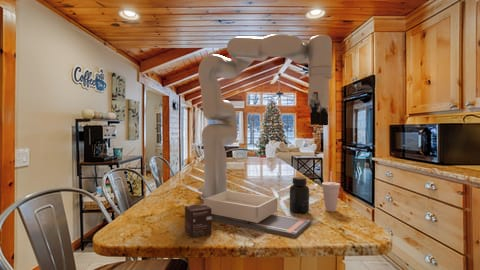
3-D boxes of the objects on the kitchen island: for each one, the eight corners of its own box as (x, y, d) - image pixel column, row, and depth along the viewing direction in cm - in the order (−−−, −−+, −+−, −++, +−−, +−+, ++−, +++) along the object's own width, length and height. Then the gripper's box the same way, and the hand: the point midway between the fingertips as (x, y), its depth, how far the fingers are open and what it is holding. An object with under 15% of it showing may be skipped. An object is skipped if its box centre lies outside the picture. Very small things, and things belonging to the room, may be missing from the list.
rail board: (199, 217, 93) (199, 214, 93) (224, 207, 105) (224, 204, 105) (295, 237, 76) (295, 233, 76) (311, 223, 87) (311, 219, 87)
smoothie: (340, 208, 104) (341, 171, 103) (339, 213, 98) (339, 173, 97) (322, 206, 106) (323, 169, 106) (320, 211, 100) (320, 172, 100)
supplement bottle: (309, 215, 96) (309, 180, 96) (289, 213, 97) (289, 179, 97) (308, 209, 103) (308, 176, 102) (289, 208, 104) (289, 176, 104)
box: (190, 238, 75) (190, 211, 75) (184, 231, 80) (184, 205, 80) (212, 234, 78) (212, 208, 78) (204, 228, 83) (204, 203, 83)
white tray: (203, 214, 92) (203, 198, 92) (227, 204, 104) (227, 190, 104) (257, 225, 82) (257, 207, 81) (277, 213, 93) (277, 197, 93)
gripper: (316, 79, 104) (315, 125, 104) (300, 70, 89) (300, 124, 89) (337, 77, 100) (336, 125, 100) (324, 67, 85) (324, 124, 85)
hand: (319, 125), depth 95 cm, fingers open, 9 cm apart
